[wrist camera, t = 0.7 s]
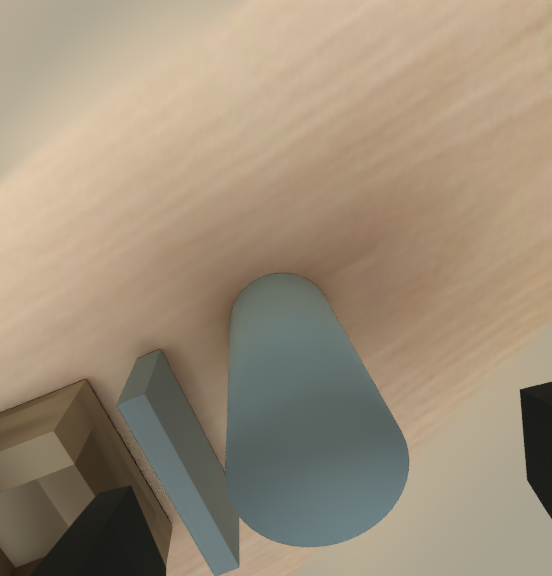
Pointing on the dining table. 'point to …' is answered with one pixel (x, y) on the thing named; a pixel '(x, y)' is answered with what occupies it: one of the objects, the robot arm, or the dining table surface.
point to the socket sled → (61, 474)
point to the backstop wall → (182, 459)
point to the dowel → (305, 421)
